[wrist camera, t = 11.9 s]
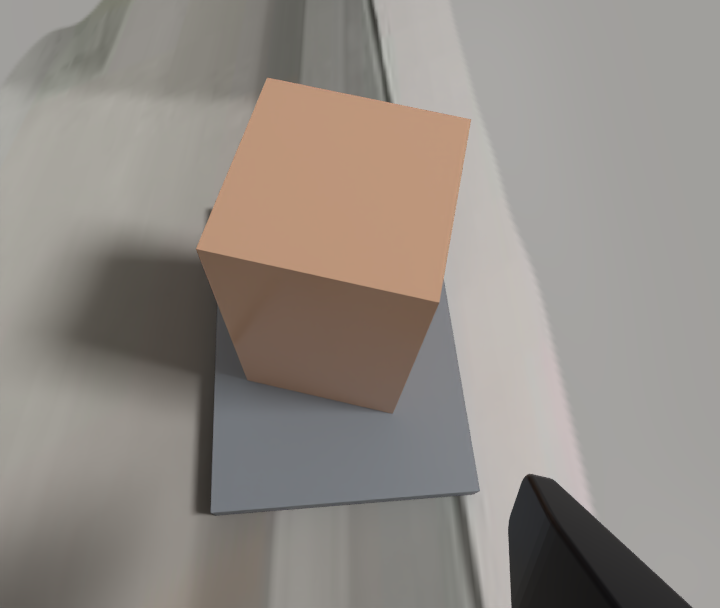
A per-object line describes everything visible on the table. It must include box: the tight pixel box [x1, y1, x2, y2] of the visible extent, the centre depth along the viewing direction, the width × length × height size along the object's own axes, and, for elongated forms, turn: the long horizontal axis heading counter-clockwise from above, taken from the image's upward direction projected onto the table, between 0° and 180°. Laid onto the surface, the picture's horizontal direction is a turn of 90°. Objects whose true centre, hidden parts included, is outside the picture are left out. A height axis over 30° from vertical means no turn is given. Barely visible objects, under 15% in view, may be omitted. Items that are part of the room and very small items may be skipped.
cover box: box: [196, 78, 471, 414], centre depth 19 cm, size 6×6×10 cm
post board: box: [211, 279, 480, 516], centre depth 23 cm, size 14×10×4 cm
